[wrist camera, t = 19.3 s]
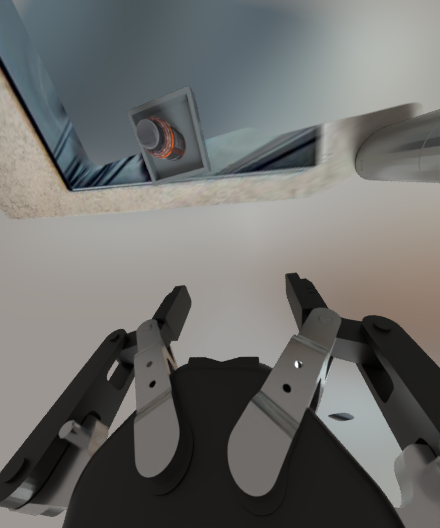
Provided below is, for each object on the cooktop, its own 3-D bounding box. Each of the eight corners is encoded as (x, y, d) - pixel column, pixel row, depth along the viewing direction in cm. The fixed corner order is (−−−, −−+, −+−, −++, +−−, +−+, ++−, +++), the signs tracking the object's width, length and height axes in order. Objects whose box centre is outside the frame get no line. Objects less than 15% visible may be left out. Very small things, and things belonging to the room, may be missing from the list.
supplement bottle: (176, 121, 34) (149, 99, 24) (191, 151, 36) (172, 142, 26) (155, 139, 35) (122, 125, 26) (171, 166, 38) (146, 163, 28)
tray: (194, 94, 32) (189, 85, 29) (211, 171, 38) (208, 170, 35) (136, 116, 35) (126, 111, 32) (160, 184, 41) (154, 185, 38)
